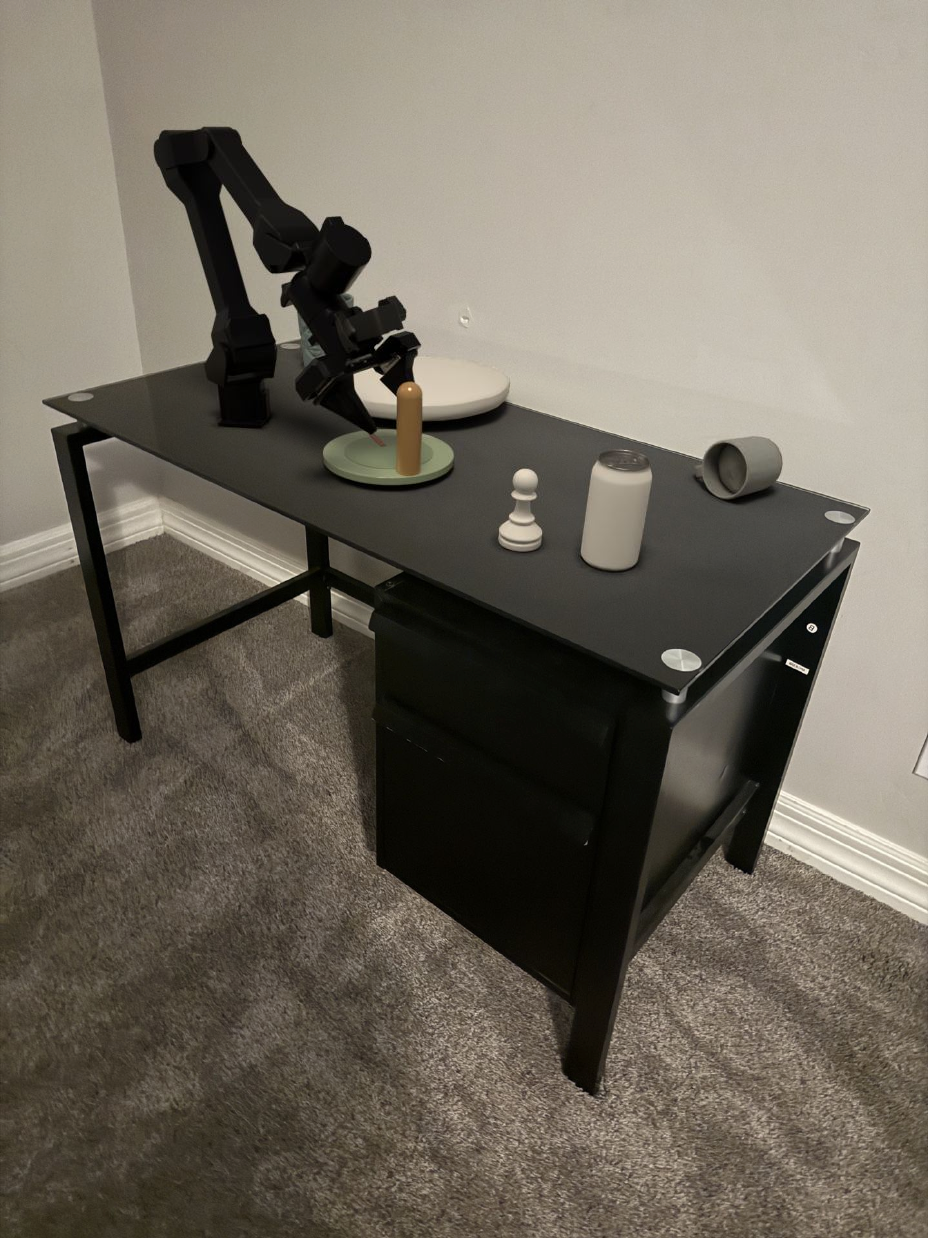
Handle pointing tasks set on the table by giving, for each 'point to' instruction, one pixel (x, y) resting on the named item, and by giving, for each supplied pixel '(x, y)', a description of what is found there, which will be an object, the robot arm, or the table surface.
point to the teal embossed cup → (305, 334)
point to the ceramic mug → (740, 466)
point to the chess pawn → (522, 516)
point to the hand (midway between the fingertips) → (397, 422)
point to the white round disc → (439, 389)
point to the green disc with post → (392, 448)
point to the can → (616, 510)
